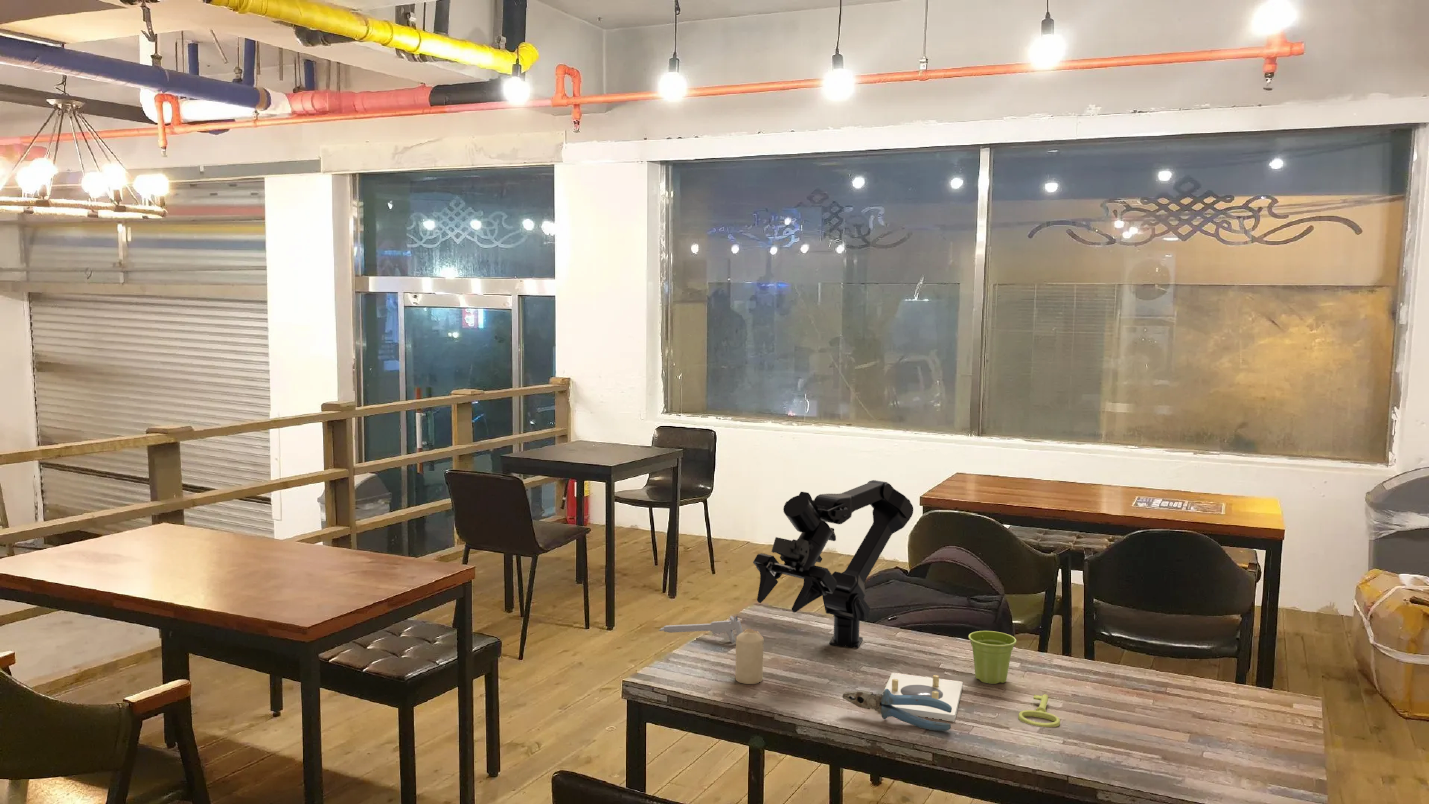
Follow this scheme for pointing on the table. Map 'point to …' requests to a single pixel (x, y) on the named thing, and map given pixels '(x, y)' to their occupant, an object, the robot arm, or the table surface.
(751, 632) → the candle
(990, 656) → the plant pot
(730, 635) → the caliper
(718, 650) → the table surface
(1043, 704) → the key
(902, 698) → the pliers
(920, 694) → the stud tile
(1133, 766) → the table surface
